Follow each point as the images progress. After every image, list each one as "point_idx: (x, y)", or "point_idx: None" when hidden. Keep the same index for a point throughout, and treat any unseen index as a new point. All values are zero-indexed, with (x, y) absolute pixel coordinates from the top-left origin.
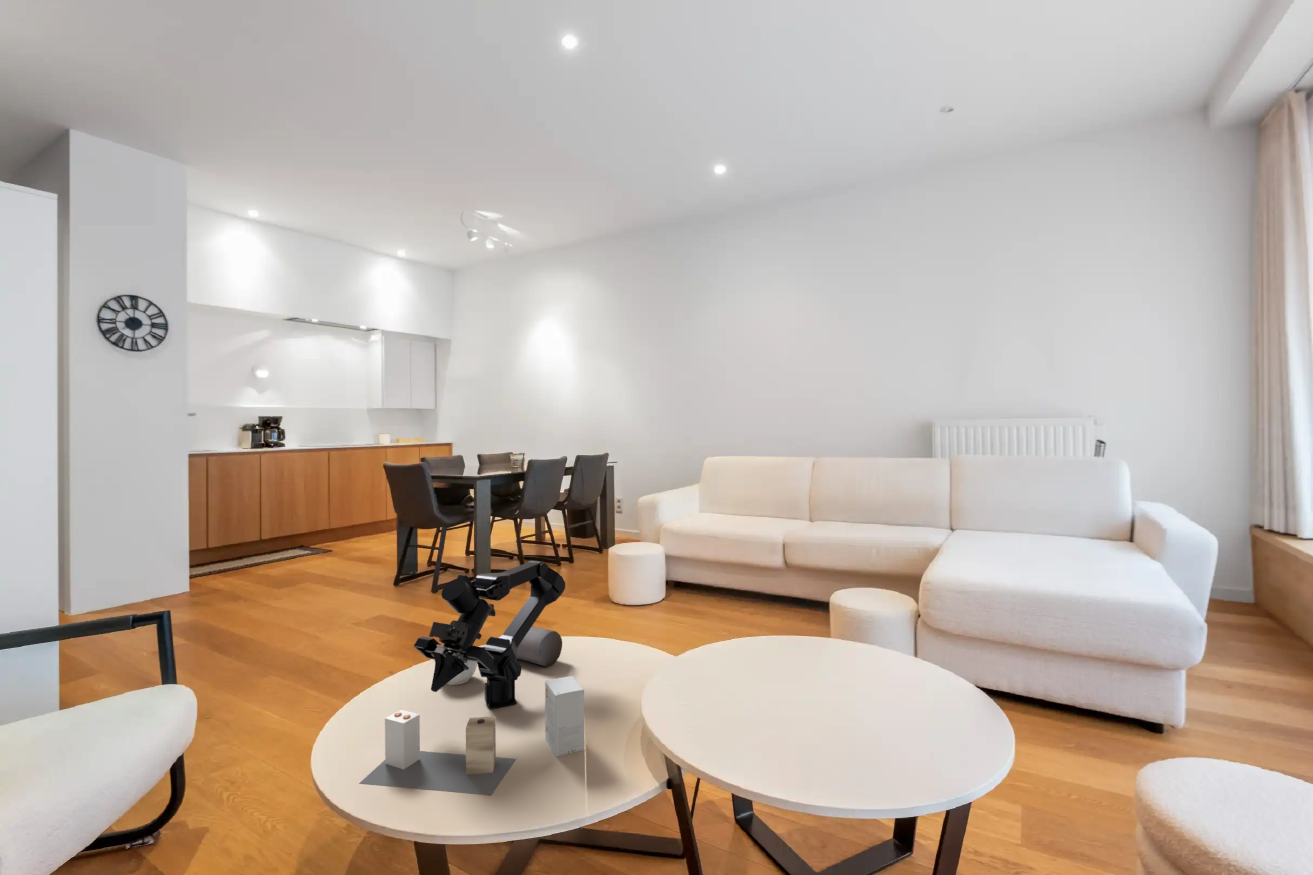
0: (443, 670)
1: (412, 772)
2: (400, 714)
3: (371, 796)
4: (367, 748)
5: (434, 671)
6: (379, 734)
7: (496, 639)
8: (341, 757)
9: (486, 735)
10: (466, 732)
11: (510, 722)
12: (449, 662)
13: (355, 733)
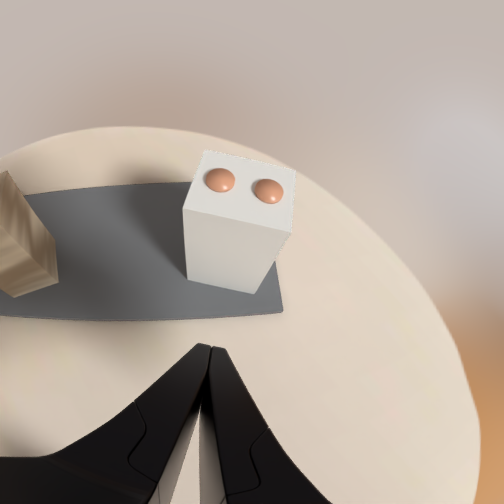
0: (145, 435)
1: (172, 226)
2: (257, 189)
3: None
4: (357, 308)
5: (270, 435)
6: (379, 369)
7: None
8: (374, 264)
9: None
10: (11, 180)
11: None
12: (43, 470)
13: (422, 351)
